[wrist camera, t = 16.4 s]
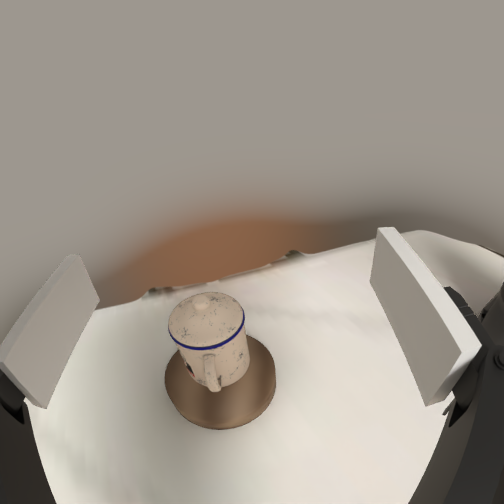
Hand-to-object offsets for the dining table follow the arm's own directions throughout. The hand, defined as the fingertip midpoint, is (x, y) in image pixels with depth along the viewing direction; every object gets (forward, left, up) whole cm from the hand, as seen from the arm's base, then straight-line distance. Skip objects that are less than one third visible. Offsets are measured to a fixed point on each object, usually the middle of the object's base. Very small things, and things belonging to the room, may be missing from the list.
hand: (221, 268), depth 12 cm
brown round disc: (+5, -13, -28) cm, 31 cm away
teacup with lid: (+5, -13, -25) cm, 29 cm away
